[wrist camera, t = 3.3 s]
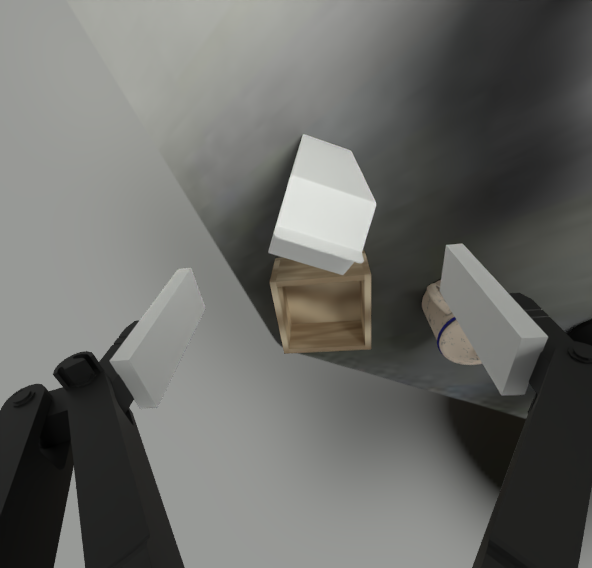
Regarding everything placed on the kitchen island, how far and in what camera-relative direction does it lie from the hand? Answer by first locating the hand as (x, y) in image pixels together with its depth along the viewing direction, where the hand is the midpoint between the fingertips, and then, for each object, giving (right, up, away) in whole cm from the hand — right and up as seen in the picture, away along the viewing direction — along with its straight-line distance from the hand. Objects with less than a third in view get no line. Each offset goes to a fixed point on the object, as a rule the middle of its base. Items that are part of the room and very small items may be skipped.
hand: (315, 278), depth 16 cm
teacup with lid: (+21, -1, +30) cm, 37 cm away
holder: (+3, -1, +31) cm, 31 cm away
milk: (+2, +14, +21) cm, 25 cm away
